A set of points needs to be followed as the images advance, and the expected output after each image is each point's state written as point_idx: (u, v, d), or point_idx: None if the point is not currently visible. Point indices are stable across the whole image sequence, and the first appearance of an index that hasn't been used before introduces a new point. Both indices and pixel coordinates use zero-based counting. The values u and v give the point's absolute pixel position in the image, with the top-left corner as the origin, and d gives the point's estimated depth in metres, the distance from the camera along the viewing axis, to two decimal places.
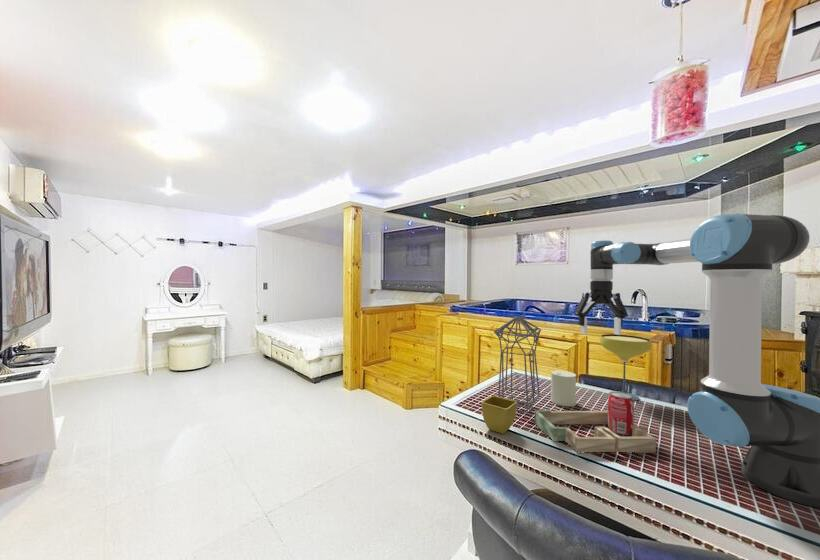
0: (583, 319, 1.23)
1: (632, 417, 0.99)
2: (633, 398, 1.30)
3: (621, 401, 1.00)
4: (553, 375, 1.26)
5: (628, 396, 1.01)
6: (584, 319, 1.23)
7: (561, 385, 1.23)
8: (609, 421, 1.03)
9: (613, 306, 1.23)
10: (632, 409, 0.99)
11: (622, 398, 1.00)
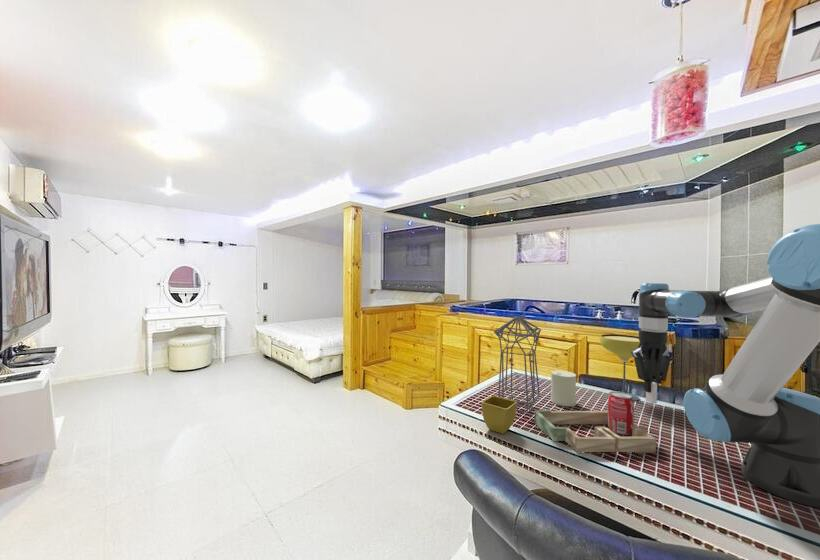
0: (650, 384, 1.02)
1: (632, 417, 0.99)
2: (633, 398, 1.30)
3: (621, 401, 1.00)
4: (553, 375, 1.26)
5: (628, 396, 1.01)
6: (651, 385, 1.02)
7: (561, 385, 1.23)
8: (609, 421, 1.03)
9: (658, 365, 1.02)
10: (632, 409, 0.99)
11: (622, 398, 1.00)
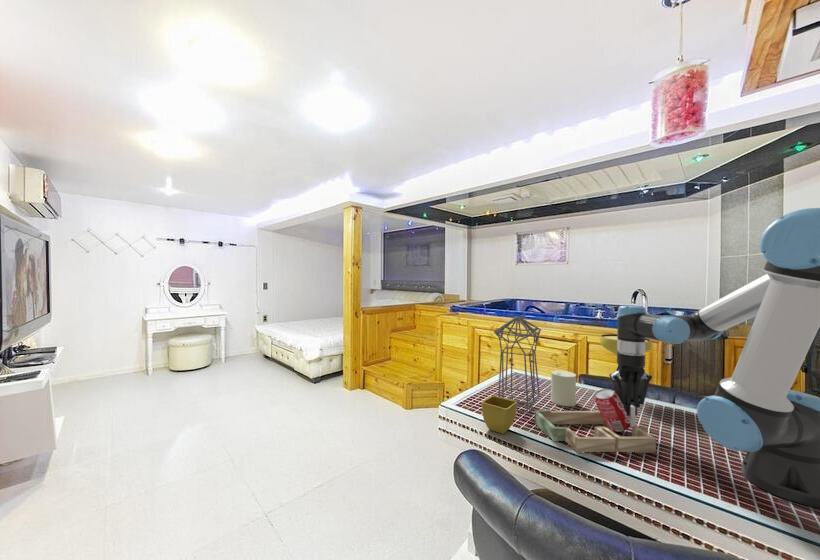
0: (628, 408, 1.02)
1: (622, 412, 0.99)
2: None
3: (606, 402, 1.00)
4: (553, 375, 1.26)
5: (611, 393, 1.01)
6: (630, 408, 1.02)
7: (561, 385, 1.23)
8: (605, 422, 1.03)
9: (636, 388, 1.02)
10: (619, 405, 0.99)
11: (606, 399, 1.00)
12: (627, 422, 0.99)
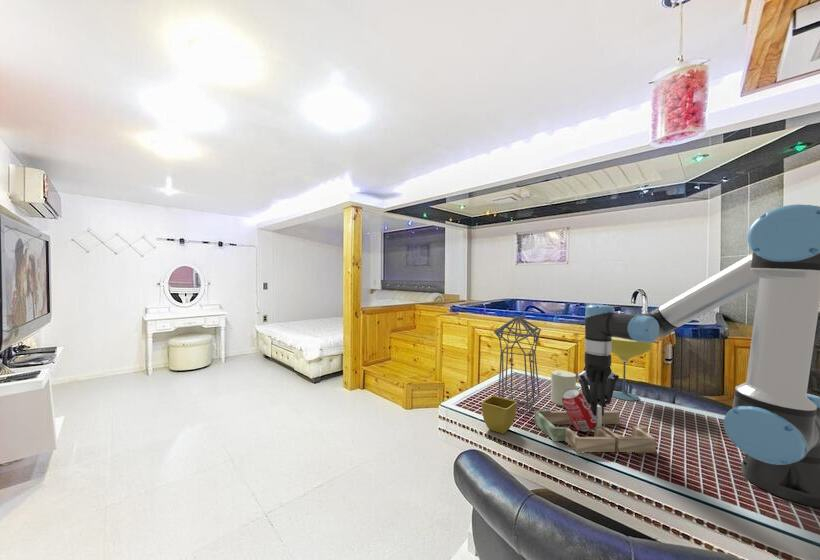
0: (595, 408, 1.02)
1: (588, 412, 0.99)
2: (633, 398, 1.30)
3: (571, 402, 0.99)
4: (553, 375, 1.26)
5: (577, 392, 1.01)
6: (596, 408, 1.01)
7: (561, 385, 1.23)
8: (572, 422, 1.02)
9: (603, 388, 1.01)
10: (584, 404, 0.99)
11: (571, 398, 0.99)
12: (593, 422, 0.99)
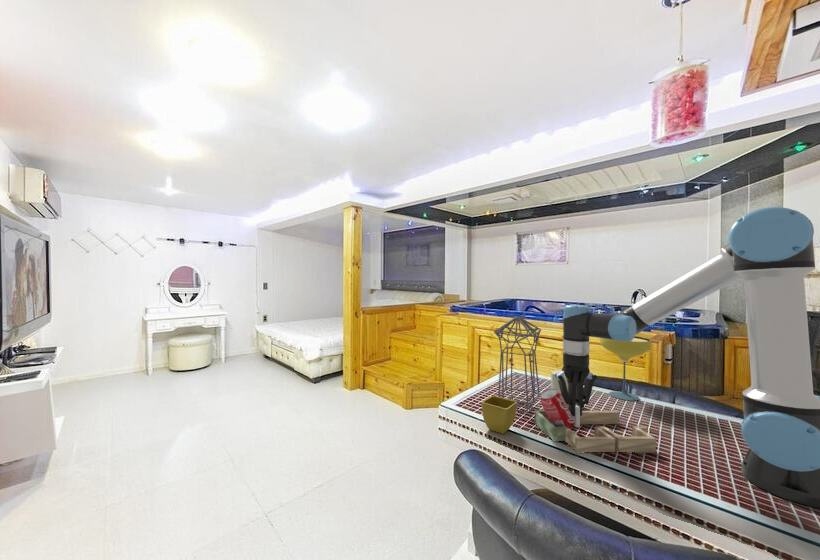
0: (574, 408, 1.01)
1: (565, 412, 0.98)
2: (633, 398, 1.30)
3: (548, 402, 0.99)
4: (553, 375, 1.26)
5: (555, 392, 1.01)
6: (575, 408, 1.01)
7: None
8: None
9: (581, 388, 1.01)
10: (562, 405, 0.99)
11: (548, 398, 0.99)
12: (570, 422, 0.98)
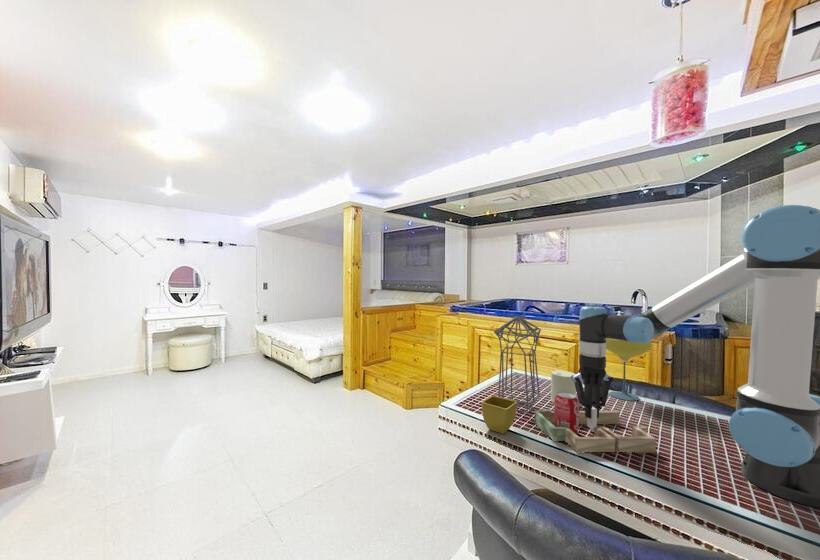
0: (590, 410, 1.01)
1: (575, 417, 0.98)
2: (633, 398, 1.30)
3: (564, 401, 0.99)
4: (553, 375, 1.26)
5: (573, 396, 1.00)
6: (591, 410, 1.01)
7: (561, 385, 1.23)
8: (554, 421, 1.02)
9: (597, 390, 1.01)
10: (576, 409, 0.98)
11: (566, 398, 0.99)
12: (575, 428, 0.98)
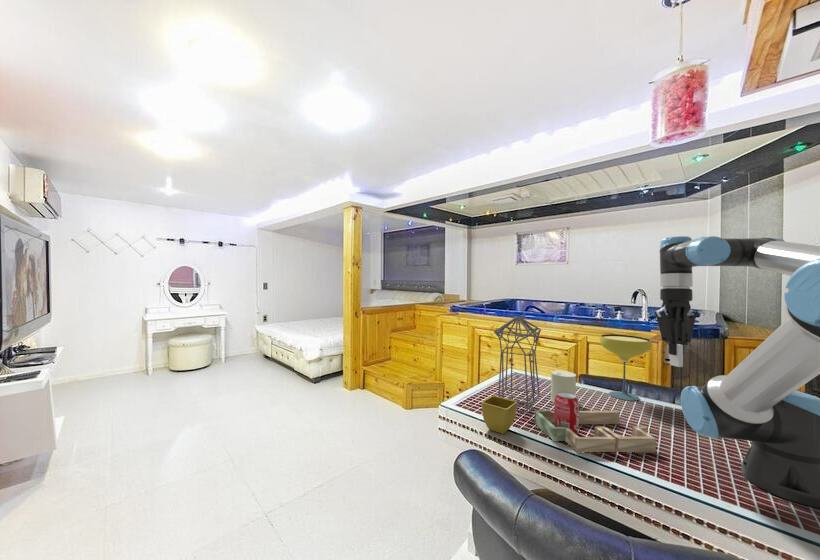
0: (675, 346, 0.95)
1: (575, 417, 0.98)
2: (633, 398, 1.30)
3: (564, 401, 0.99)
4: (553, 375, 1.26)
5: (573, 396, 1.00)
6: (677, 346, 0.94)
7: (561, 385, 1.23)
8: (554, 421, 1.02)
9: (683, 325, 0.95)
10: (576, 409, 0.98)
11: (566, 398, 0.99)
12: (575, 428, 0.98)
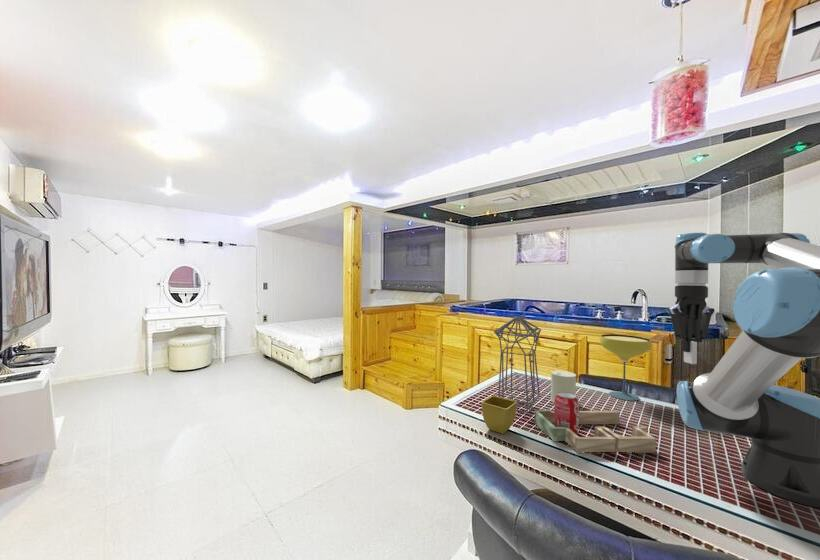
0: (689, 344, 0.94)
1: (575, 417, 0.98)
2: (633, 398, 1.30)
3: (564, 401, 0.99)
4: (553, 375, 1.26)
5: (573, 396, 1.00)
6: (690, 344, 0.94)
7: (561, 385, 1.23)
8: (554, 421, 1.02)
9: (698, 322, 0.94)
10: (576, 409, 0.98)
11: (566, 398, 0.99)
12: (575, 428, 0.98)
